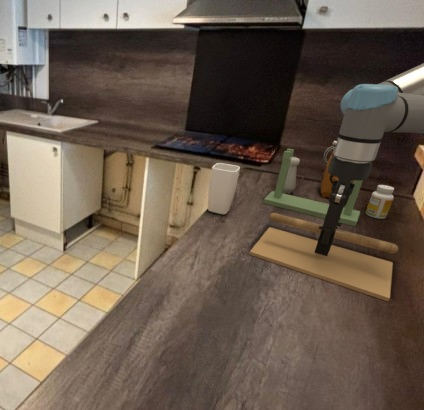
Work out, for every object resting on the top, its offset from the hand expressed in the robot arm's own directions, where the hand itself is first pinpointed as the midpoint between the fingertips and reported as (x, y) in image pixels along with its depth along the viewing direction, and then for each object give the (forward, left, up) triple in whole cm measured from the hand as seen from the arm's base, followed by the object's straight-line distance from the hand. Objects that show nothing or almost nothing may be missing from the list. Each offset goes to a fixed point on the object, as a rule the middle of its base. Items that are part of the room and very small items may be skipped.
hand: (322, 251), depth 88 cm
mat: (0, 0, -3) cm, 3 cm away
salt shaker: (+18, -46, -3) cm, 49 cm away
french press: (+7, -81, -3) cm, 81 cm away
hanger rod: (0, 0, +6) cm, 6 cm away
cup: (+30, -12, -3) cm, 32 cm away
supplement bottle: (-9, -43, -3) cm, 44 cm away
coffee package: (+4, -55, -3) cm, 55 cm away
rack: (+8, -34, -3) cm, 35 cm away
